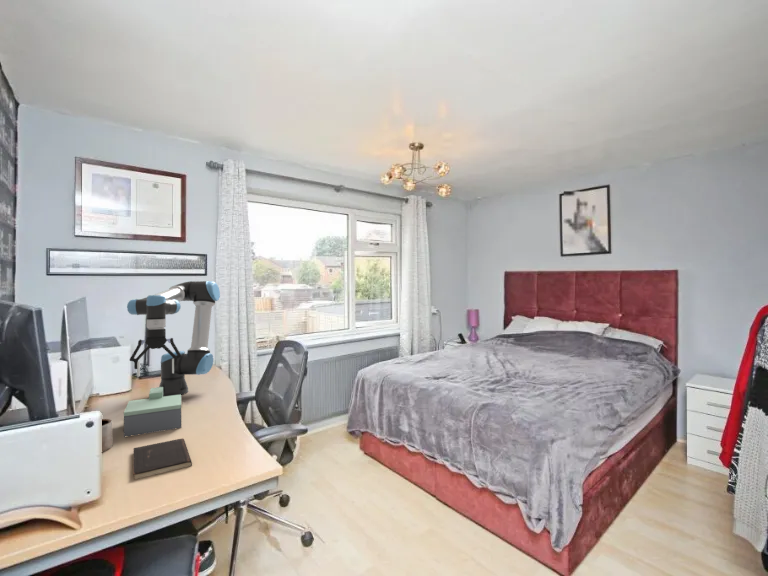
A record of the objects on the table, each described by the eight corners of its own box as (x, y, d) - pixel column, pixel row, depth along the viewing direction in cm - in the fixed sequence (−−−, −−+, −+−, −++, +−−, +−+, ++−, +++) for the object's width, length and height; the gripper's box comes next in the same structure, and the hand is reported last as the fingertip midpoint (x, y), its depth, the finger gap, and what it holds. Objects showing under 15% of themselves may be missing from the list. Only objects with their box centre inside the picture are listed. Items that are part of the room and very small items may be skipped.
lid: (131, 401, 171) (131, 390, 171) (181, 395, 180) (181, 384, 180) (123, 419, 147) (123, 406, 147) (181, 411, 157) (181, 398, 157)
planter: (80, 447, 138) (80, 421, 138) (115, 442, 142) (115, 417, 142) (69, 459, 128) (69, 431, 128) (107, 453, 132) (107, 426, 132)
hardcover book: (133, 481, 113) (133, 474, 113) (133, 454, 132) (133, 448, 132) (191, 467, 122) (191, 460, 122) (184, 443, 141) (184, 437, 141)
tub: (129, 423, 163) (129, 404, 163) (181, 415, 172) (181, 398, 172) (123, 437, 147) (123, 416, 147) (181, 427, 157) (181, 408, 157)
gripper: (122, 330, 163) (122, 379, 163) (186, 327, 175) (186, 372, 175) (124, 329, 169) (124, 375, 169) (186, 326, 181) (186, 370, 181)
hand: (156, 374), depth 172 cm, fingers open, 13 cm apart
